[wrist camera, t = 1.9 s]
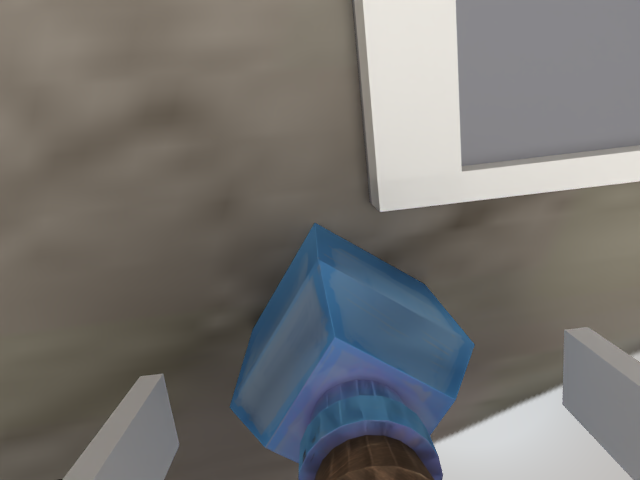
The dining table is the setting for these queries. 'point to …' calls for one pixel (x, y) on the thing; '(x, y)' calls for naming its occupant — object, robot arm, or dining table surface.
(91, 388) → the dining table surface
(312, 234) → the perfume bottle
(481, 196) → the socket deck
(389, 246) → the dining table surface
